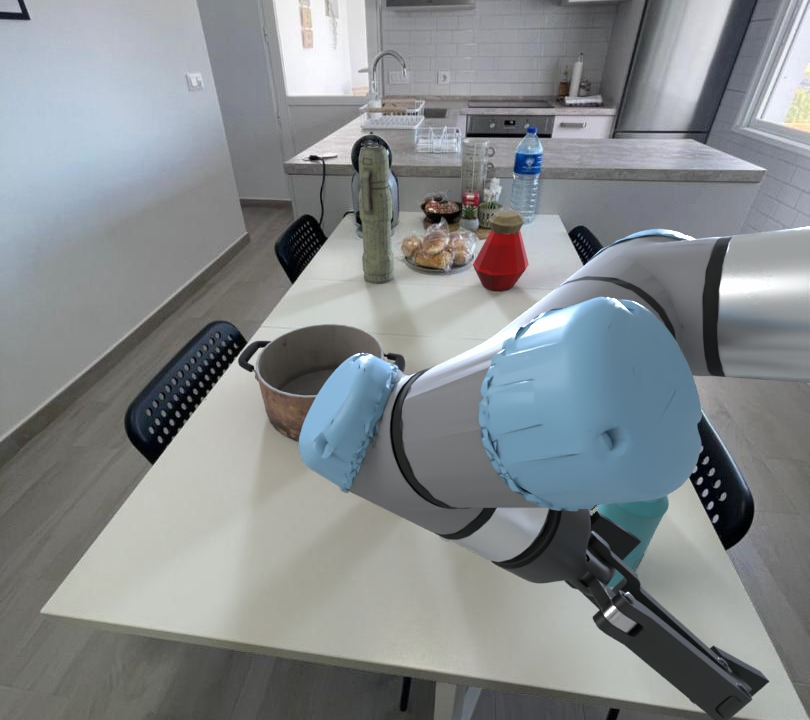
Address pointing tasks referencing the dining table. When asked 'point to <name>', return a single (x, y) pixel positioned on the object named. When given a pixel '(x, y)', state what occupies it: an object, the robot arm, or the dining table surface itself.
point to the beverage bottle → (636, 526)
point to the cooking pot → (305, 368)
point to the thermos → (375, 214)
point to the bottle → (502, 252)
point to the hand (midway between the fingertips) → (680, 607)
